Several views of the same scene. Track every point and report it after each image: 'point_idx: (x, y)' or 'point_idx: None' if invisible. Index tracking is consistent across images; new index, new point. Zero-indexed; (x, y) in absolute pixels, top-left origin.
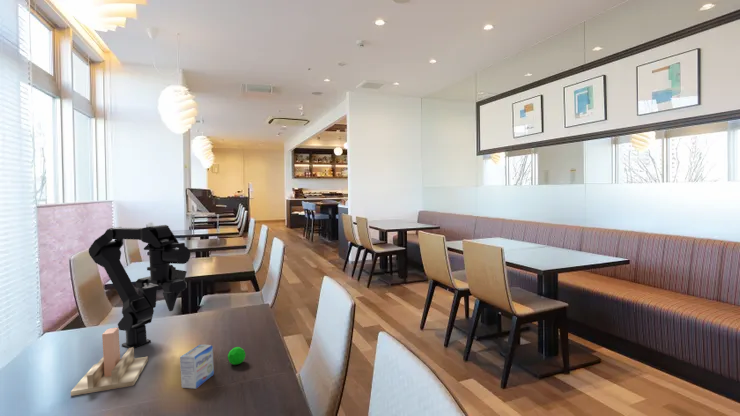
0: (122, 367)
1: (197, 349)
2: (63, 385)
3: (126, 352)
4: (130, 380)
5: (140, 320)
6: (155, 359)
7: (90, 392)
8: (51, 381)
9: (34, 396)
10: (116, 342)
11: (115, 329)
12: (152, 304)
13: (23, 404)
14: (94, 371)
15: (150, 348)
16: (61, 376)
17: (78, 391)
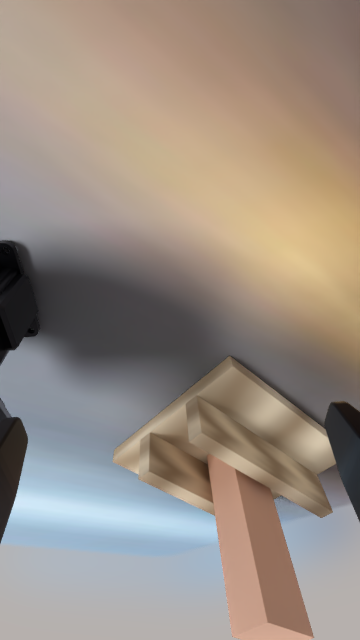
0: (294, 477)
1: None
2: (155, 504)
3: (227, 461)
4: None
5: (3, 408)
6: (252, 340)
7: None
8: (99, 509)
9: (154, 534)
10: (274, 561)
11: (281, 630)
12: (15, 479)
13: (174, 545)
14: None
15: (110, 290)
16: (87, 495)
17: None
